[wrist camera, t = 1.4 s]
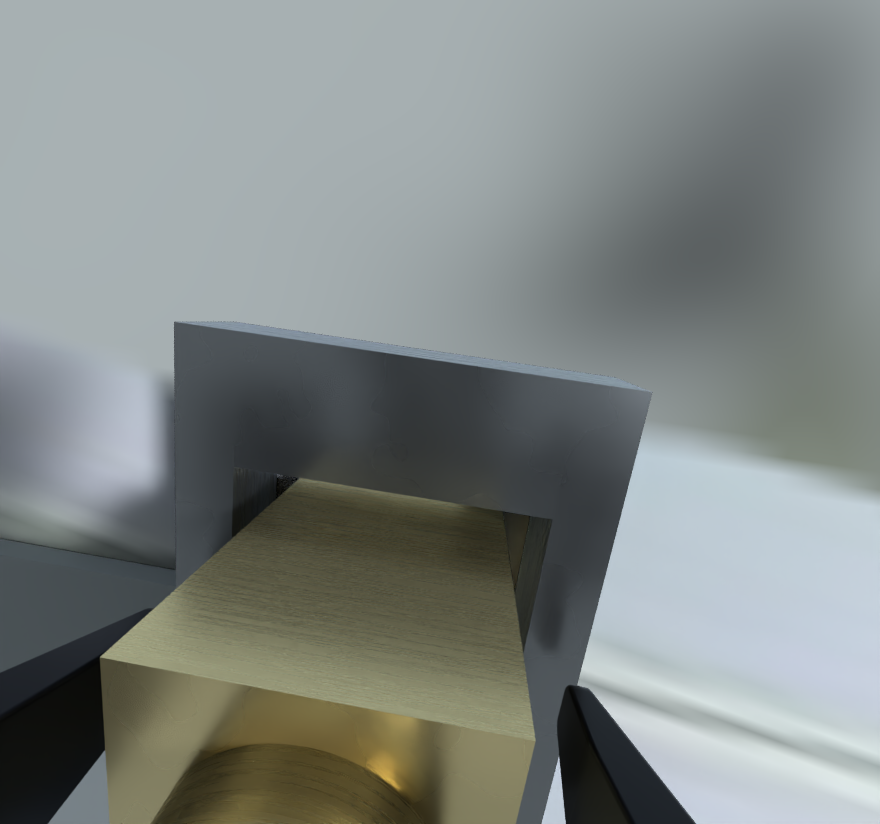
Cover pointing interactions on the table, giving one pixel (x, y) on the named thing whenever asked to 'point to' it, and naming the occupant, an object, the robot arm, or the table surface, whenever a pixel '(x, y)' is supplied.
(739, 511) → the table surface
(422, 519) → the brass cube with knob
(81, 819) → the mat
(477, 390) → the rectangular frame with openings
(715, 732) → the table surface
